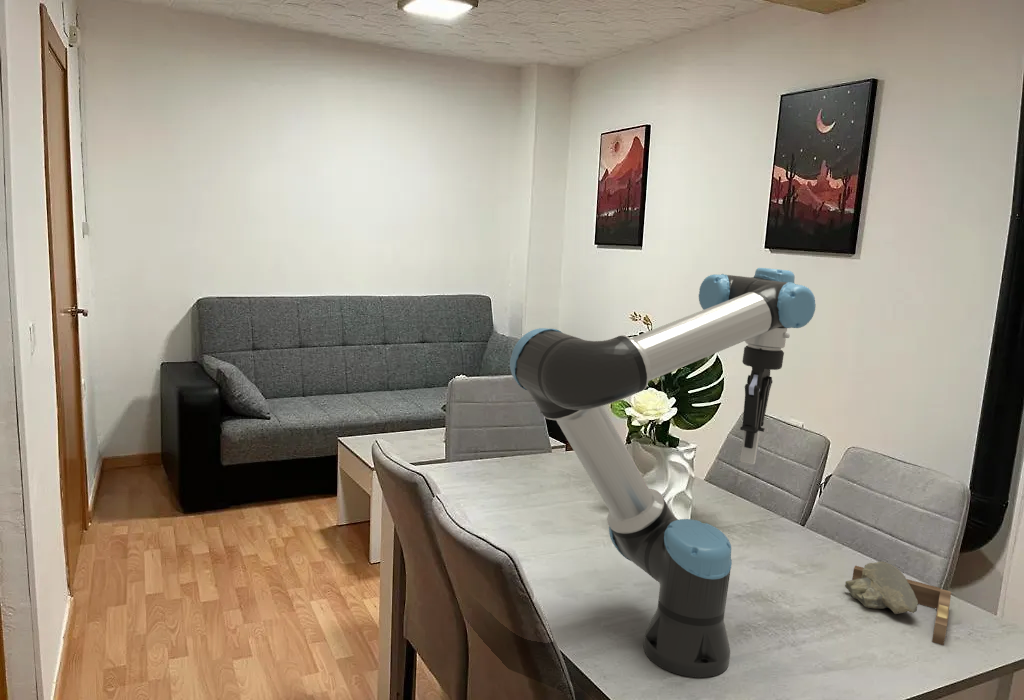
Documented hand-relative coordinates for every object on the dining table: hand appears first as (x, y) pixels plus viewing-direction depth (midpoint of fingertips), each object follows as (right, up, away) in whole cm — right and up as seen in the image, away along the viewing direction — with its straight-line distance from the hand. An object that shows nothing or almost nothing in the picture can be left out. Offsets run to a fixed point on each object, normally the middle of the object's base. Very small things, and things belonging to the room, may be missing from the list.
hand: (747, 462), depth 155 cm
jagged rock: (+30, -32, +8) cm, 45 cm away
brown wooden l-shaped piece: (+33, -32, +6) cm, 46 cm away
